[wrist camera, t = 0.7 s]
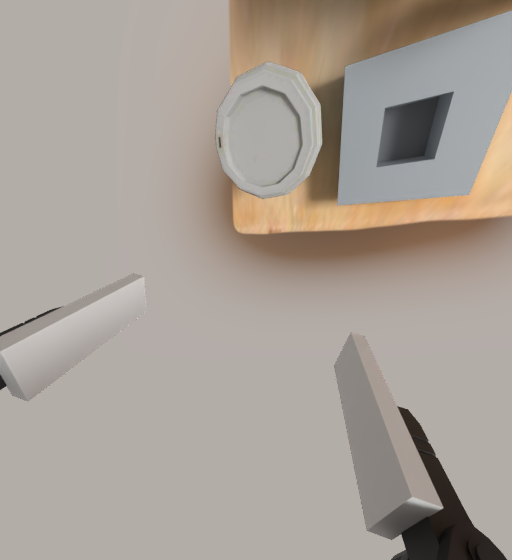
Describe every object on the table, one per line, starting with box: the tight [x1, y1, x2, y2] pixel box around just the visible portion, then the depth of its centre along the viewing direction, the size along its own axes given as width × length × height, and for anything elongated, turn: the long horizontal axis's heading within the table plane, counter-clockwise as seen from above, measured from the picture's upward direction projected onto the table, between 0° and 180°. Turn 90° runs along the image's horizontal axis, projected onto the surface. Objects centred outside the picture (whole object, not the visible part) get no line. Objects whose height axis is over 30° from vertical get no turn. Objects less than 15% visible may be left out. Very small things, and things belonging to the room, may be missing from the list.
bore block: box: [337, 10, 512, 205], centre depth 23 cm, size 14×14×4 cm
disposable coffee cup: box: [215, 62, 322, 199], centre depth 23 cm, size 11×11×15 cm
